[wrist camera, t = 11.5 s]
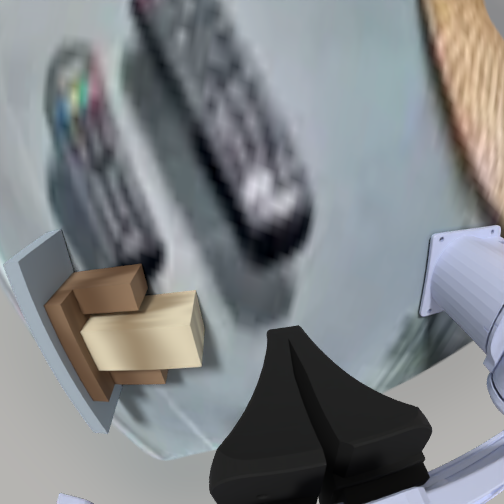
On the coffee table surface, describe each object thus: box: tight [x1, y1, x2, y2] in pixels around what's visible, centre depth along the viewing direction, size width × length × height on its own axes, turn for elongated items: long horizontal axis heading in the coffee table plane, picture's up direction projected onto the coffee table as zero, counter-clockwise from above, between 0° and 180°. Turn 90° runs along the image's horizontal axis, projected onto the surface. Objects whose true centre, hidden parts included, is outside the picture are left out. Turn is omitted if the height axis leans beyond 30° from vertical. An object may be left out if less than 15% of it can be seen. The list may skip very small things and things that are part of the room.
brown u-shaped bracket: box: [44, 264, 168, 402], centre depth 20 cm, size 6×9×5 cm, turn 6°
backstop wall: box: [3, 229, 122, 434], centre depth 20 cm, size 2×16×6 cm, turn 6°
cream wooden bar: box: [80, 290, 205, 371], centre depth 21 cm, size 8×4×4 cm, turn 96°
